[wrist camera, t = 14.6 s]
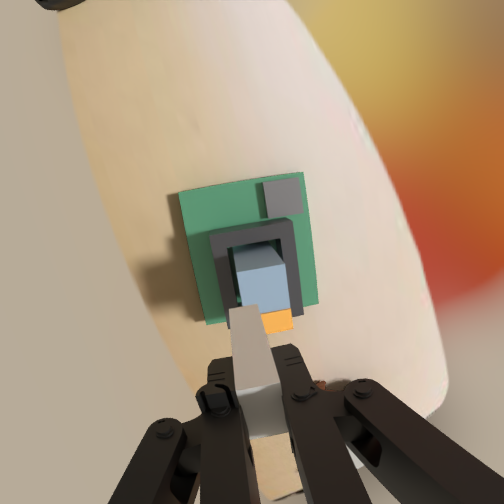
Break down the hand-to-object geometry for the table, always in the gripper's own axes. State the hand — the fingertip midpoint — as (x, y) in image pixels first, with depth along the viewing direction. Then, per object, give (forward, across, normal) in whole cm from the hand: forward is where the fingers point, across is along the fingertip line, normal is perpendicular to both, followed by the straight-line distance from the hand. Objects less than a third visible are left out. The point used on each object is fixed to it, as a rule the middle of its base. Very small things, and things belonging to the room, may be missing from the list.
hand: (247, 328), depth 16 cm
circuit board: (+20, +2, -1) cm, 21 cm away
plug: (+19, +2, -3) cm, 19 cm away
